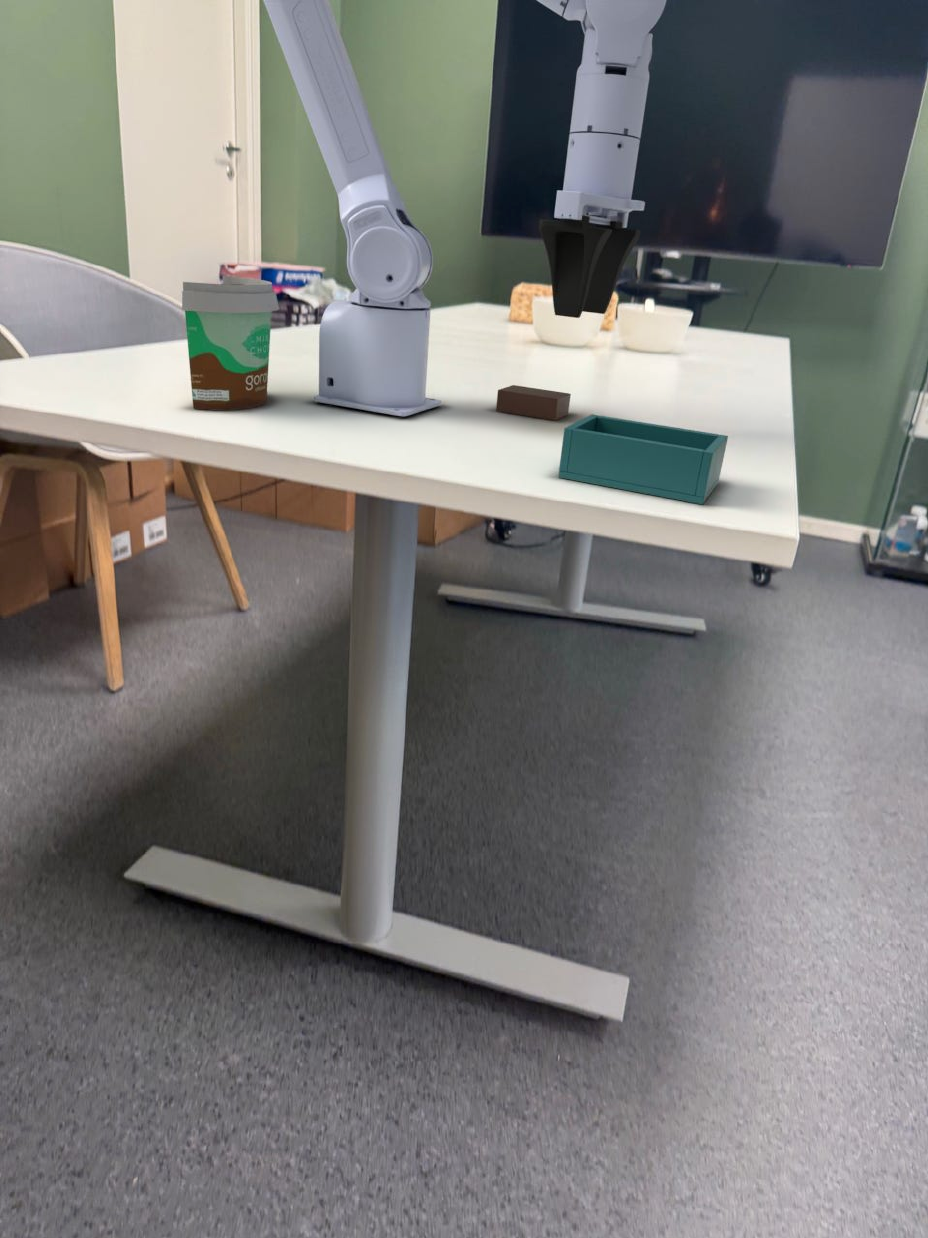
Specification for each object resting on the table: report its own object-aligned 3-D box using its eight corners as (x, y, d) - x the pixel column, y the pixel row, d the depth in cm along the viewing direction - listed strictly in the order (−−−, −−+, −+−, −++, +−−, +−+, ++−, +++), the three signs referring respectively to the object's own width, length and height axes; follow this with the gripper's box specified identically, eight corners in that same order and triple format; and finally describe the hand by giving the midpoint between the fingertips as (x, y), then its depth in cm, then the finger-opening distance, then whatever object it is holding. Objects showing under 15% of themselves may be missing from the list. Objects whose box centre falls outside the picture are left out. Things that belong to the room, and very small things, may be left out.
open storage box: (557, 477, 60) (564, 428, 59) (585, 459, 66) (591, 413, 64) (702, 504, 57) (713, 452, 55) (718, 483, 62) (728, 435, 61)
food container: (262, 418, 70) (259, 288, 66) (187, 411, 70) (180, 281, 66) (292, 392, 81) (292, 280, 77) (228, 387, 81) (224, 274, 77)
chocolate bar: (495, 410, 81) (497, 389, 80) (510, 405, 84) (513, 384, 84) (555, 420, 79) (557, 398, 78) (568, 414, 82) (570, 393, 81)
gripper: (629, 126, 61) (601, 324, 67) (672, 150, 73) (645, 315, 79) (538, 122, 64) (518, 313, 69) (594, 146, 76) (573, 307, 82)
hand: (581, 314), depth 74 cm, fingers open, 7 cm apart
